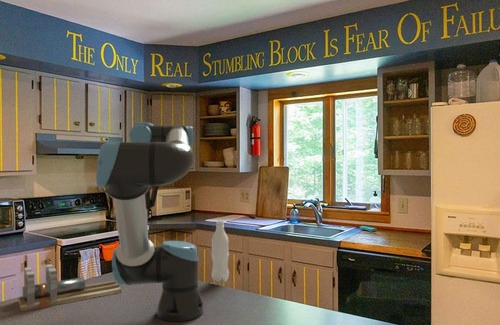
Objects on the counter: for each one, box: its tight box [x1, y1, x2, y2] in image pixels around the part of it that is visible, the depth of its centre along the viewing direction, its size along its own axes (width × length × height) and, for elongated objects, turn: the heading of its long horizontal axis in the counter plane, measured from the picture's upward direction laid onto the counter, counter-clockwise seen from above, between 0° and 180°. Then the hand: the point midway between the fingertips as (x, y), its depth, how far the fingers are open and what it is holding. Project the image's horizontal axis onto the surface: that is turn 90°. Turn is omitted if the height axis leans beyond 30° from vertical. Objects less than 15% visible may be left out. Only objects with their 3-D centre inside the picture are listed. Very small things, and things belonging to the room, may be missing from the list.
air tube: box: [21, 276, 86, 301], centre depth 146 cm, size 20×5×5 cm, turn 124°
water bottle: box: [211, 220, 230, 284], centre depth 167 cm, size 7×7×25 cm
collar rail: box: [17, 263, 122, 312], centre depth 149 cm, size 13×34×12 cm, turn 124°
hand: (144, 226), depth 151 cm, fingers closed
